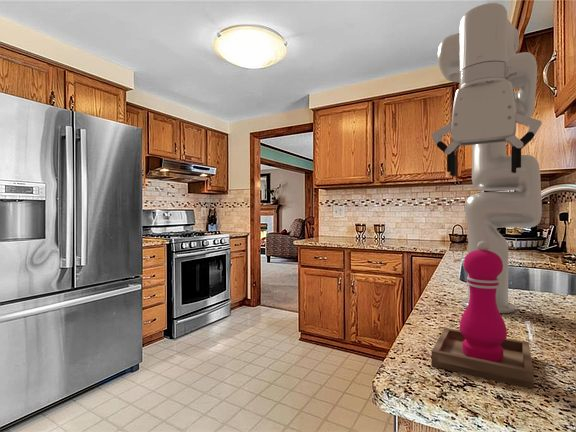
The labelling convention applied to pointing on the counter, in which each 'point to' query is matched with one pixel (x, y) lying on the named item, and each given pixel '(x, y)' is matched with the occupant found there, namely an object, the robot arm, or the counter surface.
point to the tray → (508, 370)
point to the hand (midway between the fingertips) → (482, 174)
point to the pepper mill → (483, 306)
